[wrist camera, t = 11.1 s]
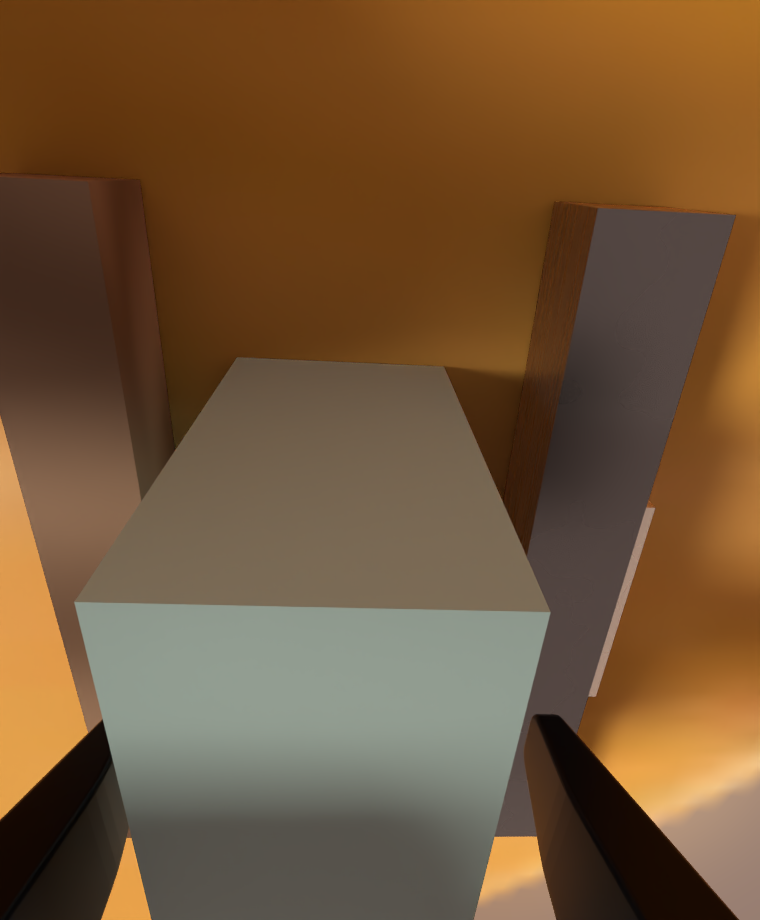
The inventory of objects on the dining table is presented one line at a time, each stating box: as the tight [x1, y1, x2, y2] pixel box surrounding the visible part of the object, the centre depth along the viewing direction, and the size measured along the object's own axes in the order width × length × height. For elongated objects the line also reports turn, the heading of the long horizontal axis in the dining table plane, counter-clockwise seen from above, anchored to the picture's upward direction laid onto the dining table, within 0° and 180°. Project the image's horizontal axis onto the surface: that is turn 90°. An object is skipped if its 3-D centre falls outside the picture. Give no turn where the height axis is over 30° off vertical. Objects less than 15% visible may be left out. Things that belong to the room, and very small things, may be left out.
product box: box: [74, 357, 551, 920], centre depth 10 cm, size 4×9×7 cm, turn 177°
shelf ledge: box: [0, 173, 175, 838], centre depth 12 cm, size 15×2×2 cm, turn 177°
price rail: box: [494, 202, 736, 837], centre depth 12 cm, size 15×2×2 cm, turn 177°
